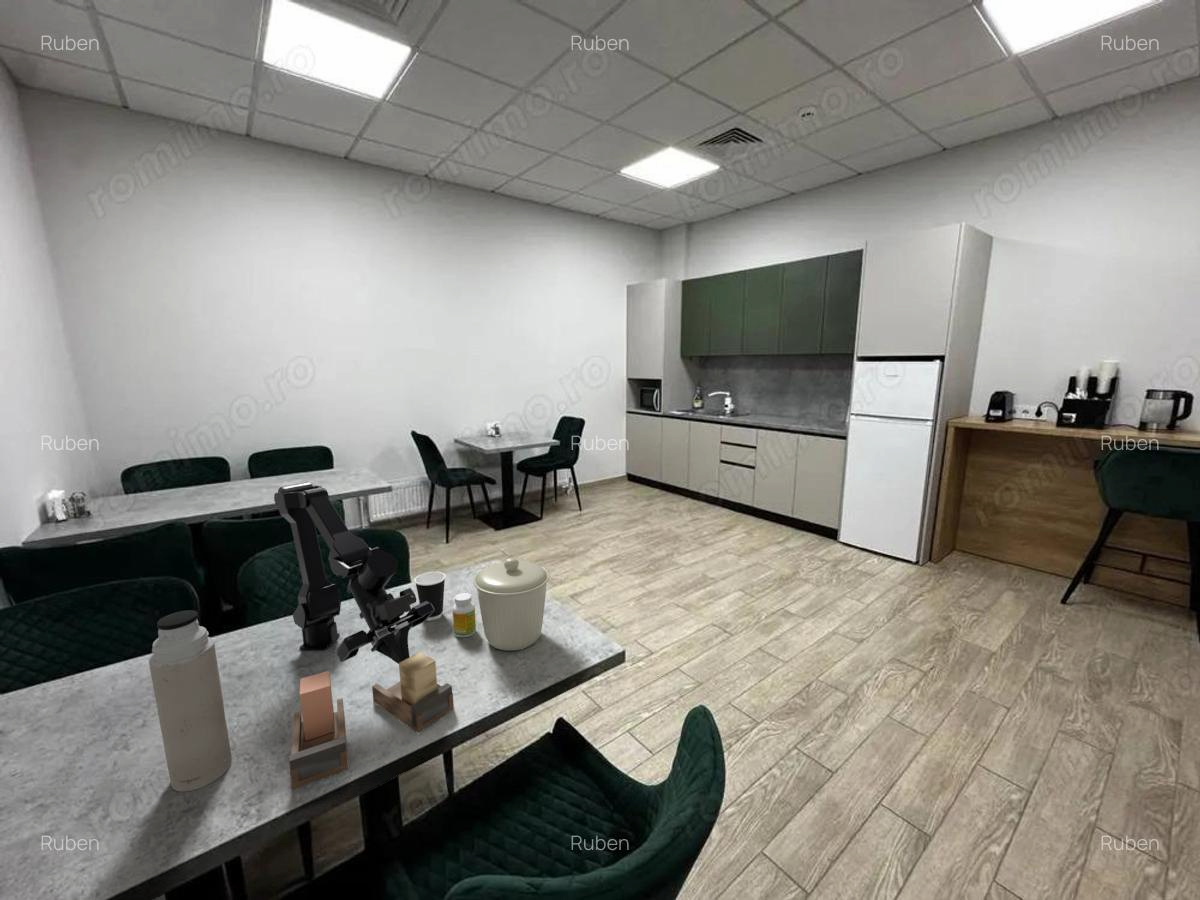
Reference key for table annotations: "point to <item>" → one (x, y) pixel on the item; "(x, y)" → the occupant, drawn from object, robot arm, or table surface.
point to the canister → (512, 602)
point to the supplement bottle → (464, 616)
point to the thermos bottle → (189, 702)
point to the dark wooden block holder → (318, 751)
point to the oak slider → (417, 677)
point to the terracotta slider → (317, 705)
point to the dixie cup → (431, 591)
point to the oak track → (415, 705)
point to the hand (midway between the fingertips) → (407, 667)
